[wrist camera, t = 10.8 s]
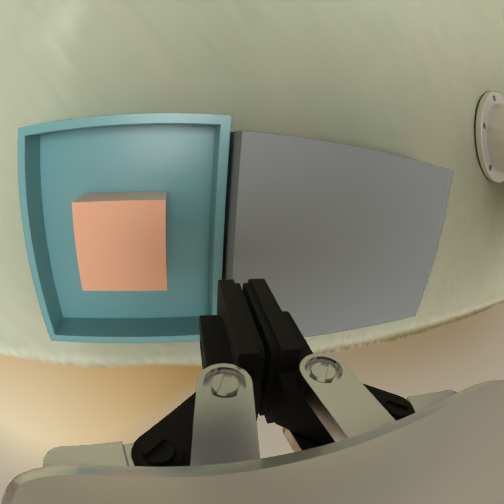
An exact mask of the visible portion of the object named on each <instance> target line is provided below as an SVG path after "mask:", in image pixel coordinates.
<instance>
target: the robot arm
mask: <svg viewBox="0 0 504 504" xmlns="http://www.w3.org/2000/svg"><path fill="white" fill-rule="evenodd" d="M476 145H477V152H478V157H479V161H480V164H481V167H482V169H483V171H484V173H485V175H486V176H487V177H488V179H490V180H491V181H494V182H497V183H500V182H503V181H504V97H503V96H502V95H501V94H500V93H498V92H487V93H485V94H484V95H483V97H482V98H481V100H480V102H479V106H478V109H477V115H476ZM199 331H200V349H201V358H202V366H203V371H202V372H201V373H200V374H199V376H198V380H197V388H196V392H195V393H194V394H193V395H192V396H190V397H189V398H188V399H187V400H186V401H184V402H183V403H182V404H181V405H180V406H178V407H177V408H176V409H175V410H173V411H172V412H171V413H170V414H169V415H167V416H166V417H165V418H163V419H162V420H161V421H160V422H159V423H157V424H156V425H155V426H153V427H152V428H151V429H150V430H148V431H147V432H146V433H144V434H143V435H142V436H140V437H139V438H138V439H137V440H136V441H135V442H134V443H130V444H122V442H113V443H105V444H94V445H80V446H61V447H57V448H53V449H52V450H50V451H48V452H47V454H46V455H45V457H44V461H43V467H41V468H37V469H32V470H30V471H27V472H23V473H21V474H19V475H17V476H16V477H15V478H13V480H12V481H11V482H10V483H9V485H8V486H7V488H6V490H5V493H4V495H3V497H2V501H1V504H504V380H492V381H487V382H483V383H479V384H476V385H473V386H471V387H468V388H466V389H464V390H462V391H460V392H455V391H452V390H445V391H440V392H435V393H429V394H423V395H417V396H410V397H408V398H407V399H405V398H403V397H400V396H398V395H395V394H392V393H388V392H386V391H383V390H380V389H377V388H374V387H371V386H368V385H366V384H363V383H361V382H360V381H359V379H358V378H357V377H356V376H355V375H354V374H353V373H352V372H351V370H349V368H348V367H347V366H346V365H345V364H344V363H343V362H342V361H341V360H340V359H338V358H336V357H335V356H333V355H329V354H325V353H316V354H313V353H312V351H311V349H310V347H309V346H308V344H307V342H306V340H305V339H304V337H303V335H302V334H301V332H300V330H299V328H298V327H297V325H296V323H295V321H294V320H293V318H292V316H291V314H290V313H289V312H288V311H282V310H281V308H280V306H279V305H278V303H277V301H276V299H275V297H274V295H273V294H272V292H271V290H270V288H269V286H268V284H267V283H266V281H265V279H264V278H262V279H249V280H248V283H243V287H242V288H241V285H240V283H235V282H234V279H225V280H218V289H217V315H200V316H199ZM258 413H259V415H260V416H261V415H265V418H266V421H267V423H273V422H275V423H276V424H278V425H280V426H282V427H283V433H284V435H285V437H286V439H287V441H288V442H289V444H290V446H291V447H292V449H293V451H294V453H289V454H284V455H279V456H275V457H269V458H262V459H260V452H259V443H258V433H257V423H256V422H257V417H258Z"/></svg>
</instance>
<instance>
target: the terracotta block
mask: <svg viewBox="0 0 504 504" xmlns="http://www.w3.org/2000/svg"><path fill="white" fill-rule="evenodd" d="M72 214H73V226H74V236H75V245H76V253H77V260H78V267H79V273H80V279H81V285H82V290H83V291H167V276H168V268H167V191H138V192H102V193H85V194H83V195H82V196H80V197H79V198H78V199H76V200H75V201H73V202H72Z"/></svg>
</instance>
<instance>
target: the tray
mask: <svg viewBox="0 0 504 504" xmlns="http://www.w3.org/2000/svg"><path fill="white" fill-rule="evenodd" d="M231 116H232V115H216V114H191V113H147V114H123V115H108V116H96V117H86V118H77V119H69V120H62V121H55V122H48V123H42V124H37V125H31V126H26V127H21V128H18V181H19V195H20V206H21V215H22V223H23V230H24V237H25V243H26V249H27V254H28V259H29V264H30V269H31V273H32V278H33V282H34V286H35V290H36V294H37V297H38V301H39V305H40V308H41V311H42V315H43V318H44V321H45V324H46V327H47V330H48V333H49V336H50V339H51V341H67V342H91V343H162V342H188V341H200V331H199V316H200V315H217V289H218V280H222V262H223V240H224V220H225V202H226V185H227V170H228V155H229V141H230V128H231ZM138 191H167V268H168V276H167V291H83V290H82V285H81V279H80V273H79V267H78V260H77V253H76V245H75V236H74V226H73V214H72V202H73V201H75V200H76V199H78V198H79V197H80V196H82V195H83V194H85V193H102V192H138Z"/></svg>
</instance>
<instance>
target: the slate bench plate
mask: <svg viewBox="0 0 504 504" xmlns="http://www.w3.org/2000/svg"><path fill="white" fill-rule="evenodd" d="M452 174H453V171H451V170H448V169H445V168H442V167H438V166H435V165H432V164H428V163H425V162H421V161H417V160H414V159H410V158H406V157H402V156H398V155H394V154H390V153H385V152H381V151H376V150H372V149H367V148H362V147H357V146H352V145H347V144H341V143H336V142H330V141H324V140H317V139H310V138H303V137H296V136H288V135H280V134H270V133H260V132H249V131H238V132H230V141H229V155H228V170H227V185H226V202H225V220H224V240H223V262H222V280H225V279H234V282H235V283H240V285H241V288H242V287H243V283H248V280H249V279H262V278H264V279H265V281H266V283H267V284H268V286H269V288H270V290H271V292H272V294H273V295H274V297H275V299H276V301H277V303H278V305H279V306H280V308H281V310H282V311H288V312H289V313H290V314H291V316H292V318H293V320H294V321H295V323H296V325H297V327H298V328H299V330H300V332H301V334H302V335H303V337H310V336H316V335H323V334H329V333H335V332H341V331H347V330H352V329H357V328H363V327H368V326H373V325H378V324H383V323H387V322H392V321H396V320H401V319H405V318H409V317H414V316H416V313H417V310H418V307H419V305H420V302H421V299H422V296H423V293H424V290H425V287H426V284H427V281H428V278H429V275H430V272H431V268H432V265H433V261H434V258H435V254H436V251H437V247H438V243H439V239H440V235H441V231H442V227H443V222H444V218H445V213H446V208H447V203H448V198H449V192H450V186H451V180H452Z"/></svg>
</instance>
